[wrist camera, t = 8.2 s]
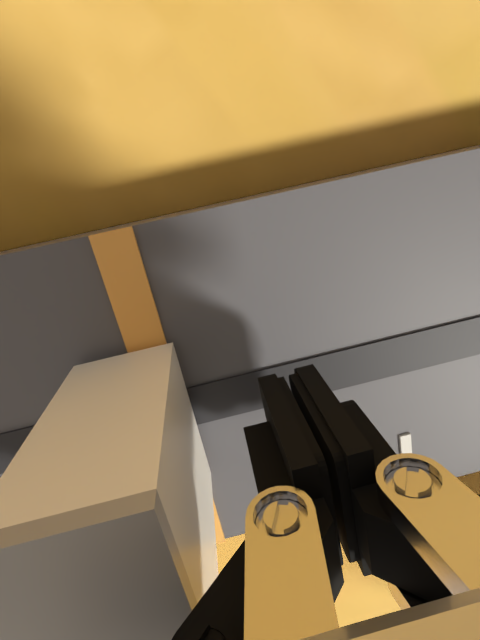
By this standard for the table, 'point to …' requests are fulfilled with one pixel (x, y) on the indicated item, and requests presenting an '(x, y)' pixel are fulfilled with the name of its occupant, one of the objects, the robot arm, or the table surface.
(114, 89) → the table surface
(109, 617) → the fader tab
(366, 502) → the robot arm
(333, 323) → the console
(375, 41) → the table surface
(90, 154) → the table surface
